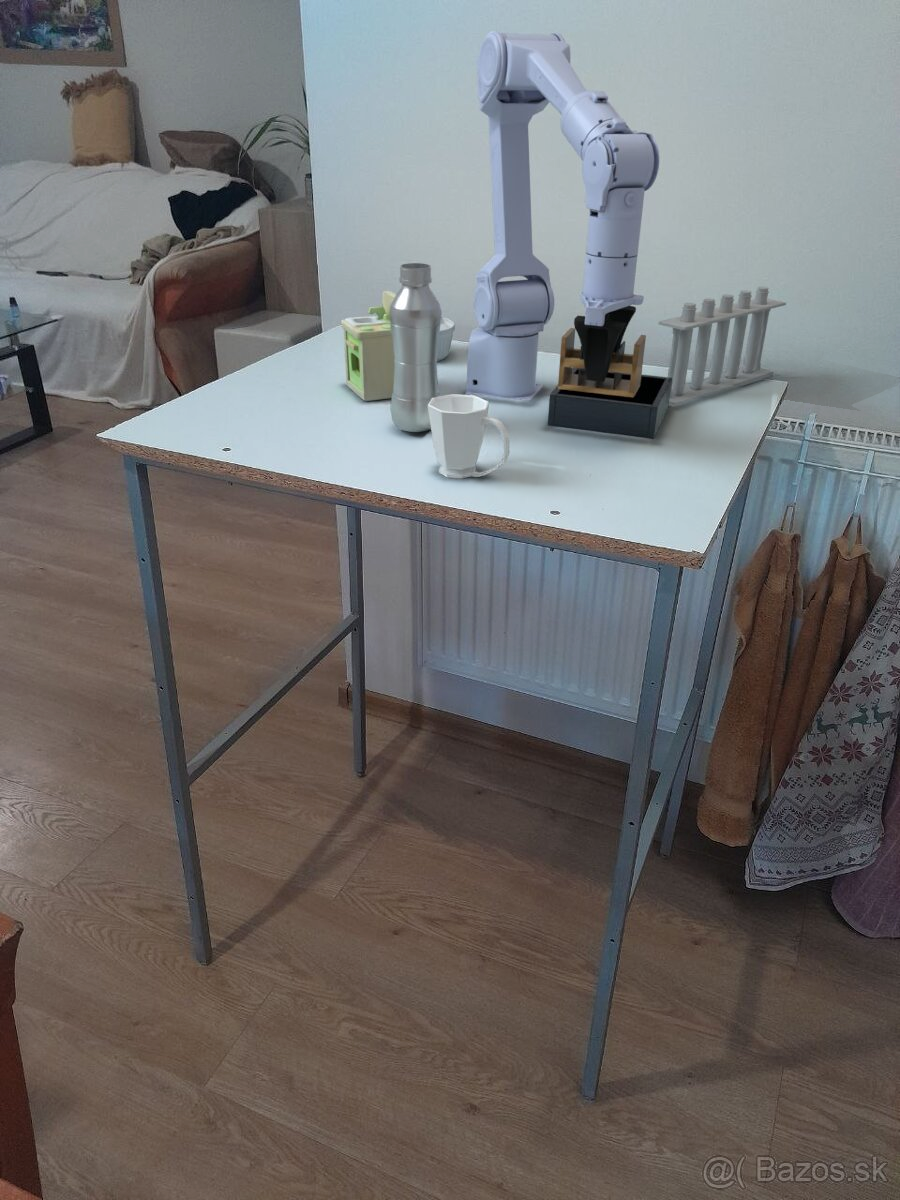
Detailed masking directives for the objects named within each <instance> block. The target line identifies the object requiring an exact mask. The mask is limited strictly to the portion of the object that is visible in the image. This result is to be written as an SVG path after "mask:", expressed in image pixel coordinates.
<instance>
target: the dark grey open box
mask: <svg viewBox="0 0 900 1200" xmlns="http://www.w3.org/2000/svg"><path fill="white" fill-rule="evenodd" d="M578 373H579V368H572V374H576V375H578ZM614 374H615V372H609V371H608V373H607V376H606V378H613V379H614ZM630 379H631V374H627V373H622V380H630ZM671 385H673V384H672V378H670V377H668V376H659V375H650V374H641V382H640V387H639V389H638V390H637V392H636V394H635V396H634V397H625V396H616V395H608V394H599V393H590V392H581V391H573V390H564V389H558V385H556V387H555V388H554V389H553V390H552V391H551V393H549V400H548V412H547V426H549V427H556V428H557V427H558V428H565V429H573V430H580V431H587V432H588V431H589V432H596V433H603V434H611V435H612V434H613V435H619V436H627V437H636V438H643V439H652V440H654V439H655V437H656V435H657V433H658V431H659V428H660V426H661V424H662V422H663V421H664V419H665V415H666V414H667V411H668V409H669V406H670V404H669V400H670V392H671Z"/></svg>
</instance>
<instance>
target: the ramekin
mask: <svg viewBox="0 0 900 1200" xmlns="http://www.w3.org/2000/svg"><path fill="white" fill-rule="evenodd" d="M455 329H456V323H455V322H454V321H453V320H452V319H450V318H447V317H445V316H442V317H441V325H440V332H439V339H438V352H437V362H438V361H442V360H444V359H446V357H447V356H448V355H449V354H450V351H451V346H452V341H453V335H454V332H455Z"/></svg>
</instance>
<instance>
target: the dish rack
mask: <svg viewBox="0 0 900 1200" xmlns="http://www.w3.org/2000/svg"><path fill="white" fill-rule="evenodd" d="M575 337H576V329H575V327H570V328H569V329H568V330H567V331H566V332H565V333H564V334H563V335H562V336H561V339H560V340H561V341H560V354H559V366H558V367H559V369H558V379H557V381H558V382H557V386H558V389H564V390H573V391H581V392H590V393H599V394H608V395H616V396H625V397H634V396H635V394H636V392H637V390H638V389H639V387H640V382H641V374H642V373H643V364H644V356H645V347H646V341H647V340H646V338H647V335H646V334H640V336H639V337H638V338H637V340H636V342H635V343H634V346H633V353H625V351H626V341H625V340H622V342H621V345H620V347H619V348H618V350H617V353H613V354H612V358H611V362H610V366H609V370H608V371H609V372H615V374H614V379H613V378H606V379H605V381H604V382H599V381H590V380H587V379H586V374H585V367H584V358H583V350H582V346H580V348H575V339H576V338H575ZM572 368H579V373H578V375H576V374H572ZM622 373H627V374H631V379H630V380H622ZM642 375H643V374H642Z"/></svg>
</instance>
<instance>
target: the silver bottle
mask: <svg viewBox="0 0 900 1200" xmlns="http://www.w3.org/2000/svg"><path fill="white" fill-rule="evenodd" d="M399 270H400V271H399V276H400V277H399V280H398V281H399V283H400V284H401V287H400V288H399V290H398V291H397V293H396V294H397V295H396V296H395V298H394V300H393V302H392V303H391V306H390V310H389V318H390V325H391V332H392V338H393V347H394V356H395V359H394V362H395V371H394V387H393V394H392V398H390V409H389V411H390V415H391V420H392V421H391V422H392V423H393V424H394V426H395V427H396V428H397V429H398V430H400V431H404V432H410V433H411V432H412V433H423V432H428V431H430V430H431V424H430V418H429V411H428V404H429V403H430V401H431V399H432V398H434V397H440V396H441V395H440V392H439V381H438V380H439V379H438V378H439V377H438V361H437V352H438V339H439V332H440V325H441V317H443V316H442V315H443V311H442V307H441V304H440V302H439V300H438V298H437V297H436V295H435V293H434V292H433V290H432V289H431V287H430V284H431V283H432V281H433V280H432V279H433V278H432V266H431V265H430V264H428V263H423V262H422V263H420V262H411V263H409V262H408V263H404V264H403V263H402V264H401V265H400V267H399Z"/></svg>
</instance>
